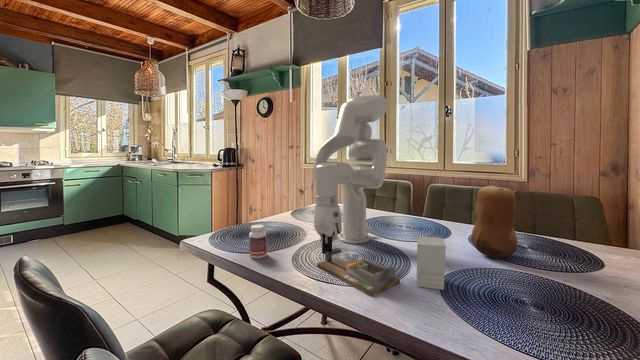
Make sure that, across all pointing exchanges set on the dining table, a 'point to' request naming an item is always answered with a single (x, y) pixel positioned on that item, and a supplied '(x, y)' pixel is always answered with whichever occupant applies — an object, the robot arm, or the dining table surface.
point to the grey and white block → (339, 257)
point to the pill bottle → (257, 242)
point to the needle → (359, 265)
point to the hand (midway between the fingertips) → (327, 252)
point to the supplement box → (430, 262)
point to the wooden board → (363, 276)
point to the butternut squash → (495, 222)
